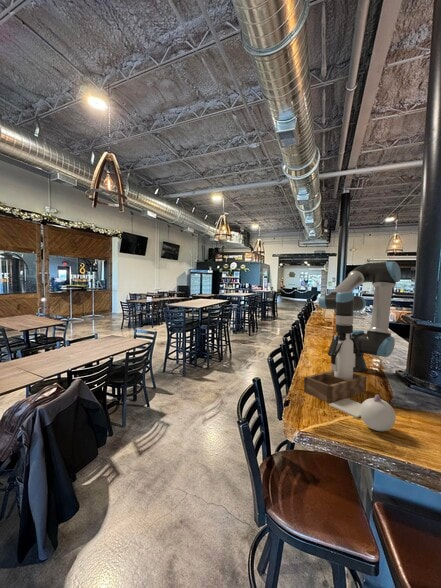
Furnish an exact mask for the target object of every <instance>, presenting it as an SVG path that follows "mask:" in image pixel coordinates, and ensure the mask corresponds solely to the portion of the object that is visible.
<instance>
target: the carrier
mask: <svg viewBox="0 0 441 588" xmlns="http://www.w3.org/2000/svg"><path fill="white" fill-rule="evenodd" d="M303 379H304V381H303V392H304V393H305V394H308V395H310V396H312V397H315V398H316V399H318V400H321V401H323V402H326V403H328V404H331V403H334V402H337V401H340V400H343V399H346V398H348V399H349V398H351V397H353V396H357V395H360V394H362V393H365V392H367V376H366V375H362V374H359V373H357V372H353V379H350V380H344V379H341V378H338V377H335V376H334V371H333V370H328V371H324V372H321V373H316V374H312V375H311V374H310V375H308V376H304V377H303Z"/></svg>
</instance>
